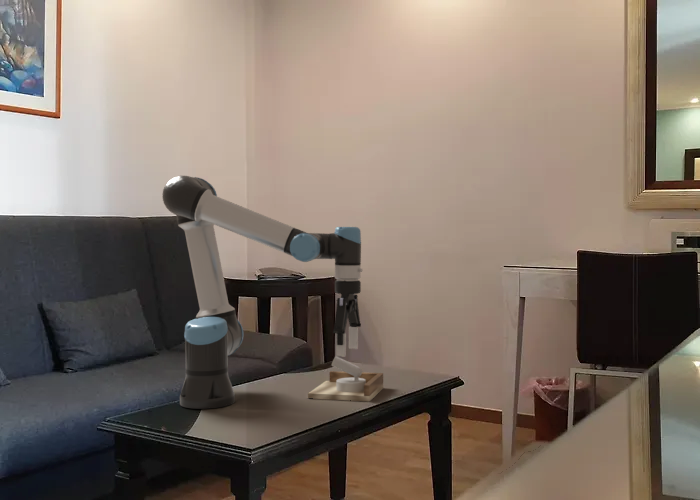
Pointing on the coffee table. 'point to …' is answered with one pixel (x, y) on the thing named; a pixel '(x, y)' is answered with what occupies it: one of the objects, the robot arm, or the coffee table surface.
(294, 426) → the coffee table surface
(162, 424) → the coffee table surface
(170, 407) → the coffee table surface
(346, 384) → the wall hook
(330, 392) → the wooden corner jig board
